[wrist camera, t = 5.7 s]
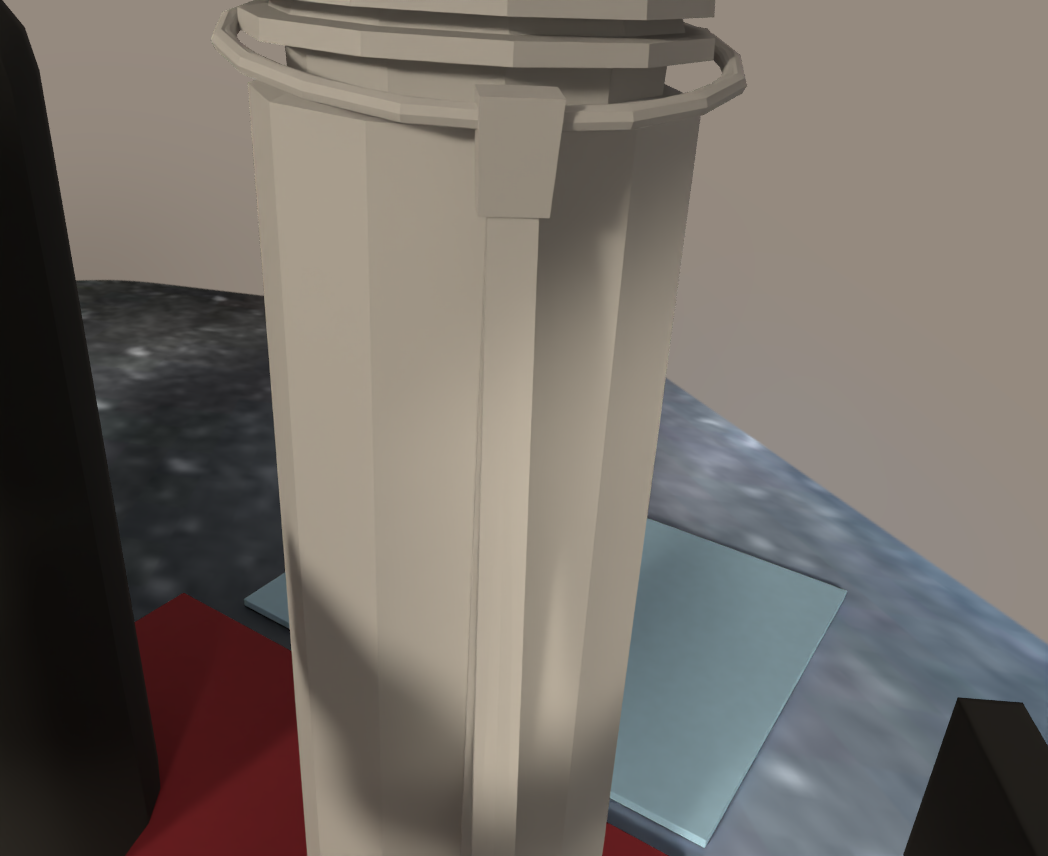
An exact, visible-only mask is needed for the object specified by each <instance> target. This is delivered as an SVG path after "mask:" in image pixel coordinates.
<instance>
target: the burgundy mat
mask: <svg viewBox="0 0 1048 856" xmlns="http://www.w3.org/2000/svg"><path fill="white" fill-rule="evenodd" d="M135 627H136V633H137V639H138V645H139V651H140V656H141V662H142V668H143V674H144V680H145V685H146V691H147V697H148V703H149V709H150V714H151V720H152V726H153V732H154V738H155V743H156V749H157V755H158V764H159V776H160V787H161V788H160V791H159V794H158V797H157V800H156V803H155V806H154V809H153V812H152V815H151V818H150V821H149V824H148V825H147V826H146V828H145V829H144V831H143V832H142V833H141V835H140V836H139V837H138V839H137V840H136V841H135V843H134V844H133V846H132V847H131V848H130V850H129V851H128V852H127V854H126V855H125V856H307V845H306V832H305V819H304V806H303V793H302V781H301V768H300V755H299V742H298V729H297V716H296V703H295V690H294V677H293V664H292V651H290V650H288V649H287V648H285V647H283V646H281V645H279V644H277V643H276V642H274V641H272V640H270V639H268V638H266V637H264V636H263V635H261V634H259V633H257V632H255V631H253V630H252V629H250V628H248V627H246V626H244V625H242V624H240V623H239V622H237V621H235V620H233V619H231V618H229V617H228V616H226V615H224V614H222V613H220V612H218V611H217V610H215V609H213V608H211V607H209V606H207V605H205V604H204V603H202V602H200V601H198V600H196V599H194V598H193V597H191V596H189V595H187V594H185V593H182V594H181V595H179V596H177V597H176V598H174V599H172V600H171V601H169V602H167V603H166V604H164V605H162V606H161V607H159V608H158V609H156V610H154V611H153V612H151V613H149V614H148V615H146V616H144V617H143V618H141V619H139V620H138V621H136V622H135ZM602 856H668V855H666V854H665V853H663V852H661V851H659V850H657V849H655V848H654V847H652V846H650V845H648V844H646V843H644V842H642V841H641V840H639V839H637V838H635V837H633V836H631V835H630V834H628V833H626V832H624V831H622V830H620V829H618V828H617V827H615V826H613V825H611V824H609V823H607V822H606V830H605V837H604V845H603V852H602Z"/></svg>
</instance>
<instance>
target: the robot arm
mask: <svg viewBox="0 0 1048 856" xmlns="http://www.w3.org/2000/svg"><path fill="white" fill-rule="evenodd" d="M903 855H904V856H1048V746H1047V744H1046V742H1045V740H1044V739H1043V737H1042V735H1041V734H1040V732H1039V730H1038V728H1037V727H1036V725H1035V723H1034V722H1033V720H1032V718H1031V716H1030V715H1029V713H1028V711H1027V709H1026V708H1025V706H1024V704H1023V703H1020V702H1008V701H995V700H983V699H971V698H957V701H956V704H955V707H954V710H953V713H952V716H951V718H950V721H949V724H948V727H947V730H946V733H945V736H944V739H943V742H942V744H941V747H940V750H939V753H938V756H937V759H936V762H935V765H934V768H933V770H932V773H931V776H930V779H929V782H928V785H927V788H926V791H925V794H924V796H923V799H922V802H921V805H920V808H919V811H918V814H917V817H916V820H915V822H914V825H913V828H912V831H911V834H910V837H909V840H908V843H907V846H906V848H905V851H904V854H903Z"/></svg>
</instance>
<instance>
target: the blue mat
mask: <svg viewBox="0 0 1048 856" xmlns="http://www.w3.org/2000/svg"><path fill="white" fill-rule="evenodd" d="M846 593H847V591H846V590H843V589H840V588H838V587H835V586H832V585H830V584H827V583H824V582H821V581H819V580H816V579H813V578H810V577H808V576H805V575H802V574H799V573H797V572H794V571H791V570H788V569H786V568H783V567H780V566H777V565H775V564H772V563H769V562H767V561H764V560H761V559H758V558H756V557H753V556H750V555H747V554H745V553H742V552H739V551H736V550H734V549H731V548H728V547H725V546H723V545H720V544H717V543H715V542H712V541H709V540H706V539H704V538H701V537H698V536H695V535H693V534H690V533H687V532H684V531H682V530H679V529H676V528H673V527H671V526H668V525H665V524H663V523H660V522H657V521H654V520H652V519H649V518H647V522H646V529H645V537H644V544H643V552H642V559H641V567H640V574H639V582H638V589H637V597H636V604H635V612H634V619H633V627H632V634H631V642H630V649H629V657H628V664H627V672H626V679H625V687H624V694H623V702H622V709H621V717H620V724H619V732H618V739H617V747H616V754H615V762H614V769H613V777H612V784H611V792H610V798H611V799H613V800H614V801H616V802H618V803H620V804H622V805H624V806H626V807H628V808H630V809H631V810H633V811H635V812H637V813H639V814H641V815H643V816H645V817H647V818H649V819H650V820H652V821H654V822H656V823H658V824H660V825H662V826H664V827H666V828H667V829H669V830H671V831H673V832H675V833H677V834H679V835H681V836H683V837H685V838H686V839H688V840H690V841H692V842H694V843H696V844H698V845H700V846H702V847H703V848H705V847H706V845H707V843H708V841H709V840H710V838H711V836H712V834H713V832H714V831H715V829H716V827H717V825H718V824H719V822H720V820H721V818H722V816H723V815H724V813H725V811H726V809H727V807H728V806H729V804H730V802H731V800H732V799H733V797H734V795H735V793H736V791H737V790H738V788H739V786H740V784H741V782H742V781H743V779H744V777H745V775H746V774H747V772H748V770H749V768H750V766H751V765H752V763H753V761H754V759H755V757H756V756H757V754H758V752H759V750H760V749H761V747H762V745H763V743H764V741H765V740H766V738H767V736H768V734H769V732H770V731H771V729H772V727H773V725H774V724H775V722H776V720H777V718H778V716H779V715H780V713H781V711H782V709H783V707H784V706H785V704H786V702H787V700H788V699H789V697H790V695H791V693H792V691H793V690H794V688H795V686H796V684H797V682H798V681H799V679H800V677H801V675H802V674H803V672H804V670H805V668H806V666H807V665H808V663H809V661H810V659H811V657H812V656H813V654H814V652H815V650H816V649H817V647H818V645H819V643H820V641H821V640H822V638H823V636H824V634H825V632H826V631H827V629H828V627H829V625H830V624H831V622H832V620H833V618H834V616H835V615H836V613H837V611H838V609H839V607H840V606H841V604H842V602H843V600H844V599H845V597H846ZM244 604H245V606H247V607H249V608H251V609H253V610H255V611H257V612H258V613H260V614H262V615H264V616H266V617H268V618H270V619H272V620H274V621H275V622H277V623H279V624H281V625H283V626H285V627H287V628H289V629H290V625H289V612H288V599H287V586H286V573H283V574H282V575H280V576H279V577H277V578H276V579H274V580H272V581H271V582H269V583H268V584H266V585H265V586H263V587H262V588H260V589H259V590H257V591H256V592H254V593H252V594H251V595H249V596H248V597H246V598H245V599H244Z"/></svg>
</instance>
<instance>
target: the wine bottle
mask: <svg viewBox="0 0 1048 856" xmlns="http://www.w3.org/2000/svg"><path fill="white" fill-rule="evenodd" d="M160 788H161V787H160V776H159V764H158V755H157V749H156V743H155V738H154V732H153V726H152V720H151V714H150V709H149V703H148V697H147V691H146V685H145V680H144V674H143V668H142V662H141V656H140V651H139V645H138V639H137V633H136V627H135V622H134V616H133V610H132V604H131V599H130V593H129V587H128V581H127V575H126V570H125V564H124V558H123V552H122V546H121V541H120V535H119V529H118V523H117V517H116V512H115V506H114V500H113V494H112V488H111V483H110V477H109V471H108V465H107V459H106V454H105V448H104V442H103V436H102V431H101V425H100V419H99V413H98V407H97V402H96V396H95V390H94V384H93V378H92V373H91V367H90V361H89V355H88V349H87V344H86V338H85V332H84V326H83V320H82V315H81V309H80V303H79V297H78V291H77V286H76V280H75V274H74V268H73V263H72V257H71V251H70V245H69V239H68V234H67V228H66V222H65V216H64V210H63V205H62V199H61V193H60V187H59V181H58V176H57V170H56V164H55V158H54V152H53V147H52V141H51V135H50V130H49V123H48V118H47V113H46V106H45V101H44V95H43V89H42V83H41V77H40V72H39V68H38V65H37V62H36V59H35V56H34V54H33V50H32V48H31V45H30V42H29V39H28V36H27V33H26V30H25V27H24V26H23V25H22V24H21V22H20V21H19V20H18V19H17V17H16V16H15V15H14V14H13V13H12V11H11V10H10V9H9V8H8V7H7V5H6V4H5V3H4V2H3V1H2V0H0V856H125V855H126V854H127V852H128V851H129V850H130V848H131V847H132V846H133V844H134V843H135V841H136V840H137V839H138V837H139V836H140V835H141V833H142V832H143V831H144V829H145V828H146V826H147V825H148V824H149V821H150V818H151V815H152V812H153V809H154V806H155V803H156V800H157V797H158V794H159V791H160Z"/></svg>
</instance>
